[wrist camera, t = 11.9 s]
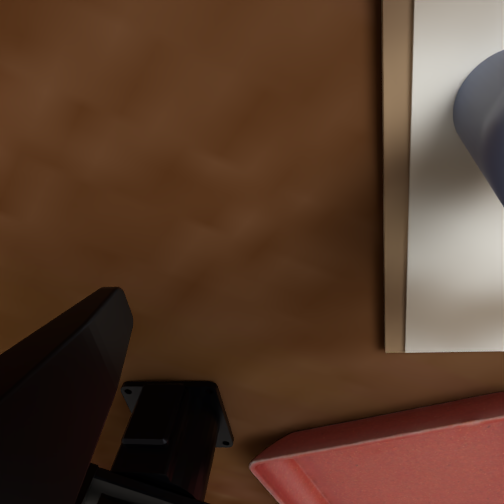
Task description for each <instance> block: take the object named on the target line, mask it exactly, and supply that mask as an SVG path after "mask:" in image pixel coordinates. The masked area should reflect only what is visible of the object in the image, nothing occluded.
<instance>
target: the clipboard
mask: <svg viewBox="0 0 504 504" xmlns="http://www.w3.org/2000/svg"><path fill="white" fill-rule="evenodd" d="M381 20H382V133H383V246H384V346H385V353H403V352H405V353H415V352H477V351H504V207H503V205H502V204H501V202H500V201H499V199H498V197H497V196H496V194H495V193H494V191H493V190H492V188H491V186H490V185H489V183H488V182H487V180H486V178H485V177H484V175H483V174H482V172H481V171H480V169H479V167H478V166H477V164H476V163H475V161H474V159H473V158H472V156H471V155H470V153H469V152H468V150H467V148H466V147H465V145H464V144H463V142H462V140H461V139H460V137H459V136H458V134H457V132H456V129H455V126H454V122H453V107H454V102H455V98H456V95H457V93H458V91H459V88H460V87H461V85H462V83H463V82H464V80H465V79H466V77H467V76H468V75H469V74H470V73H471V71H472V70H473V69H474V68H475V67H477V66H478V65H479V64H480V63H481V62H483V61H484V60H485V59H487V58H488V57H490V56H492V55H493V54H495V53H497V52H499V51H502V50H504V0H381Z"/></svg>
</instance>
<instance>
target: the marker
mask: <svg viewBox="0 0 504 504" xmlns="http://www.w3.org/2000/svg"><path fill="white" fill-rule="evenodd" d="M453 122H454V126H455V129H456V132H457V134H458V136H459V137H460V139H461V140H462V142H463V144H464V145H465V147H466V148H467V150H468V152H469V153H470V155H471V156H472V158H473V159H474V161H475V163H476V164H477V166H478V167H479V169H480V171H481V172H482V174H483V175H484V177H485V178H486V180H487V182H488V183H489V185H490V186H491V188H492V190H493V191H494V193H495V194H496V196H497V197H498V199H499V201H500V202H501V204H502V205H503V207H504V50H502V51H499V52H497V53H495V54H493V55H492V56H490V57H488V58H487V59H485V60H484V61H483V62H481V63H480V64H479V65H478V66H477V67H475V68H474V69H473V70H472V71H471V73H470V74H469V75H468V76H467V77H466V79H465V80H464V82H463V83H462V85H461V87H460V88H459V91H458V93H457V95H456V98H455V102H454V107H453Z"/></svg>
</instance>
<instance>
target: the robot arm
mask: <svg viewBox="0 0 504 504" xmlns="http://www.w3.org/2000/svg"><path fill="white" fill-rule="evenodd" d="M132 328H133V316H132V313H131V310H130V307H129V305H128V302H127V299H126V296H125V294H124V291H123V290H122V289H121V288H120V287H102V288H100V289H98V290H97V291H95V292H94V293H92V294H91V295H89V296H88V297H86V298H85V299H83V300H82V301H80V302H79V303H77V304H76V305H74V306H73V307H71V308H70V309H68V310H67V311H65V312H64V313H62V314H61V315H59V316H58V317H56V318H55V319H53V320H52V321H50V322H49V323H47V324H46V325H44V326H43V327H41V328H40V329H38V330H37V331H35V332H34V333H32V334H31V335H29V336H28V337H26V338H25V339H23V340H22V341H20V342H19V343H17V344H16V345H14V346H13V347H11V348H10V349H8V350H7V351H5V352H4V353H2V354H1V355H0V504H209V503H206V502H204V499H205V494H206V489H207V485H208V480H209V475H210V471H211V466H212V461H213V457H214V452H215V447H231V446H232V445H233V441H234V437H233V434H232V431H231V428H230V424H229V421H228V418H227V415H226V412H225V408H224V405H223V402H222V399H221V396H220V392H219V389H218V386H217V385H216V384H215V383H213V382H210V381H171V382H125V383H123V386H122V388H121V393H122V395H123V397H124V399H125V401H126V403H127V405H128V407H129V409H130V411H131V413H132V415H131V417H130V420H129V422H128V425H127V427H126V430H125V432H124V435H123V437H122V442H121V445H120V447H119V450H118V452H117V455H116V457H115V460H114V462H113V465H112V468H111V470H110V471H109V470H106V469H103V468H100V467H98V465H96V464H93V463H90V461H91V458H92V456H93V453H94V450H95V448H96V445H97V442H98V440H99V437H100V434H101V432H102V429H103V426H104V424H105V421H106V418H107V415H108V413H109V410H110V407H111V405H112V402H113V399H114V396H115V393H116V391H117V387H118V384H119V380H120V376H121V372H122V368H123V364H124V360H125V356H126V352H127V348H128V344H129V340H130V336H131V332H132Z"/></svg>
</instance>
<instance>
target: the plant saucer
mask: <svg viewBox="0 0 504 504" xmlns="http://www.w3.org/2000/svg"><path fill="white" fill-rule="evenodd" d="M249 469H250V470H251V472H252V473H253V474H254V475H255V477H256V478H257V479H258V480H259V481H260V482H261V483H262V484H263V486H264V487H265V488H266V489H267V490H268V491H269V492H270V494H271V495H272V496H273V497H274V498H275V499H276V500H277V501H278V502H279V504H504V392H497V393H491V394H486V395H481V396H476V397H470V398H465V399H461V400H456V401H451V402H446V403H441V404H436V405H431V406H426V407H420V408H415V409H410V410H405V411H400V412H395V413H390V414H385V415H380V416H375V417H370V418H365V419H359V420H354V421H349V422H344V423H339V424H334V425H328V426H323V427H317V428H313V429H308V430H303V431H298V432H293V433H291V434H289V435H287V436H285V437H283V438H282V439H280V440H278V441H277V442H275V443H274V444H272V445H271V446H269V447H268V448H266V449H265V450H264V451H262V452H261V453H260V454H259V455H257V456H256V457H255V458H254V459H253V460H252V461H251V462H250V463H249Z"/></svg>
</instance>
